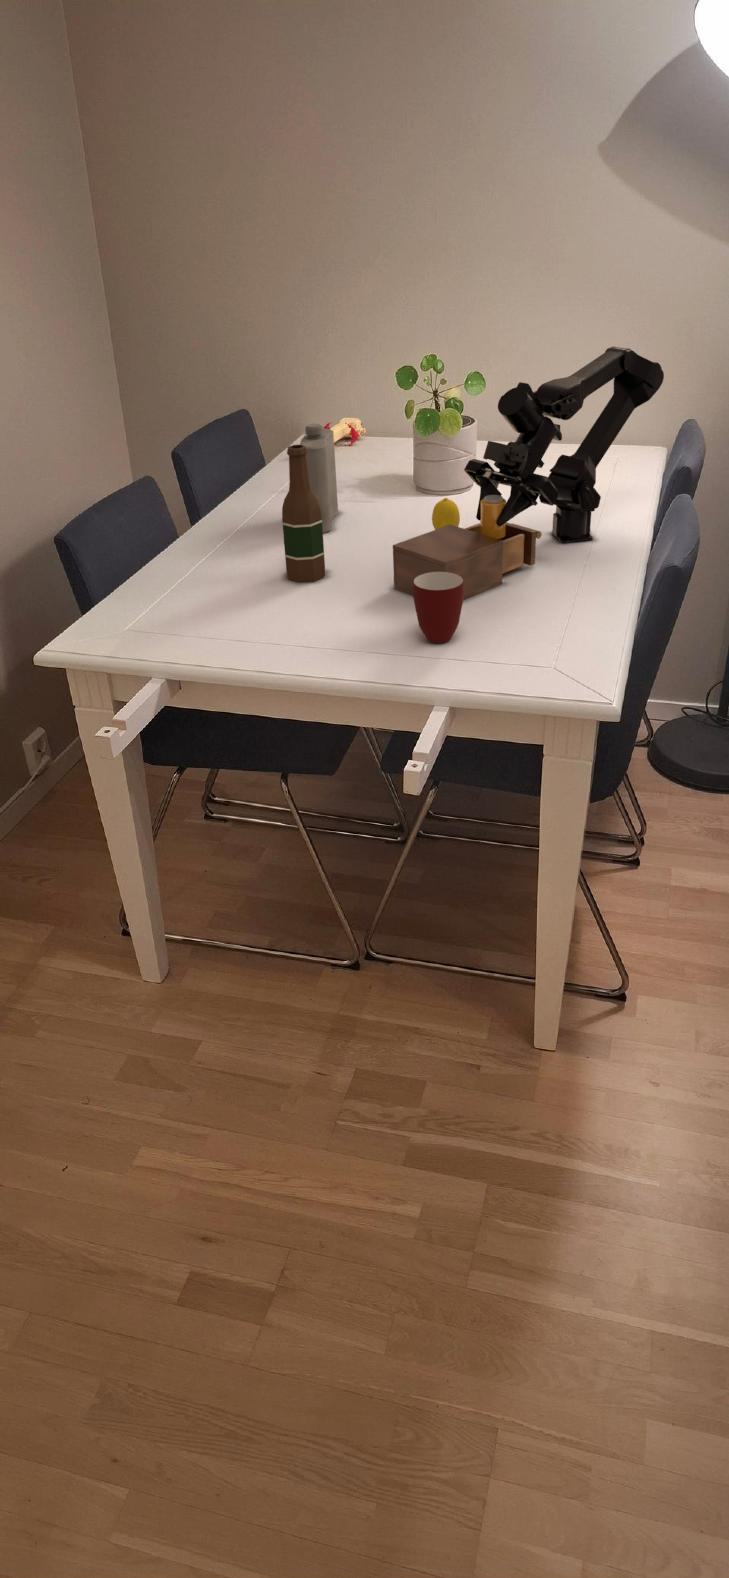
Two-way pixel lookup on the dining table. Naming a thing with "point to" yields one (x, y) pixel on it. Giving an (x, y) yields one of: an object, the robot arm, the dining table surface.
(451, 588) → the mug
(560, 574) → the dining table surface
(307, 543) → the beer bottle
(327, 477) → the flask
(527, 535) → the drawer
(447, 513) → the lemon
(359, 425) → the meaty bone
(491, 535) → the yellow jar
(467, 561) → the cabinet
